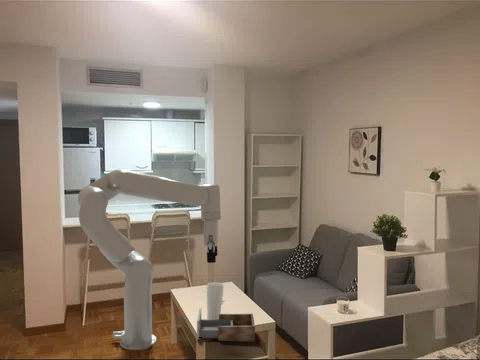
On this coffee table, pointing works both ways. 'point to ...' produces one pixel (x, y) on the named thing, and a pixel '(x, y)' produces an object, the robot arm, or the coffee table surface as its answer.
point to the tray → (210, 326)
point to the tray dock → (237, 328)
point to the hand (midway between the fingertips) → (212, 259)
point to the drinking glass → (214, 299)
